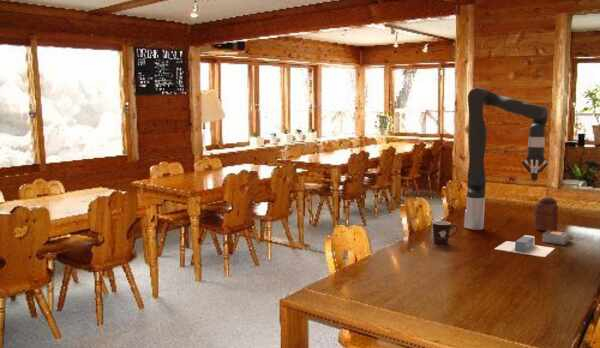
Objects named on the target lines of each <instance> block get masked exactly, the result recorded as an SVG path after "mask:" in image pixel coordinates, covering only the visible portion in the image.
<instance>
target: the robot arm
mask: <svg viewBox="0 0 600 348" xmlns="http://www.w3.org/2000/svg"><path fill="white" fill-rule="evenodd" d="M467 106H468V134H467V135H468V136H467V139H468V140H467V141H468V142H467V143H468V145H467V146H468V157H469V161H468V163H469V164H468V168H467V169H468V170H467V175H466V177H467V189H466V191H467V192H466V206H465V207H466V209H465V210H464V222H463V223H464V224H463V225H464V227H463V229H464V228H465V229H469V230H476V231H478V230H479V231H481V230H484V223H485V203H486V202H485V201H486V198H485V197H486V183H487V182H486V181H487V173H486V171H485V155H486V149H487V148H486V147H487V138H488V137H487V136H488V135H487V126H486V123H485V119H484V115H483V112H484V111H483V110H484V106H490V107H496V108H498V109H501V110H503V111H506V112H508V113H510V114H511V113H512V114H515V115H518V116H523V117H525V118H528V119H530V120H532V123H531V125H530V126H529V132H528V134H529V135H528V143H527V157H526V159H524V160H523V161H521V163H522V165H523V167H524V168H525V169H526V170H527V172H529V173H531V175H530V176H531V177H530V179H531V180H532V181H534V182H536V181H537V180H538V179H539V173H542V172H543V171H544V170H545V169H546V168H548V166H549V165H550V162H549V161H546V159H545V149H546V148H545V146H546V140H545V139H546V137H545V135H546V125H547V122H548V121H547V120H548V115H549V114H548V113H549V112H548V109H547V107H546V106H544V105H539V104H538V105H536V104H532V103H528V102H527V101H524V100H520V99H517V98H512V97H509V96H503V95H500V94H497V93H495V92H492V91H490V90H488V89H486V88H484V87H474V88H471V90H469V92H468V94H467ZM540 166H542V167H540Z"/></svg>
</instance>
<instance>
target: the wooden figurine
mask: <svg viewBox="0 0 600 348" xmlns="http://www.w3.org/2000/svg"><path fill="white" fill-rule="evenodd" d="M557 203H558V202H557V200H556V199H555V198H553V197H551V196H550V197H549V196H545V197H542V198H541V199H539V200H537V201H536V202H535V209H534V216H535V217H534V219H535V220H534V229H535V230H537V231H544V232H546V231H547V230H551V231H558V223H559V222H558V220H559V219H558V218H559V217H558V215H559V206H558V204H557Z"/></svg>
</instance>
